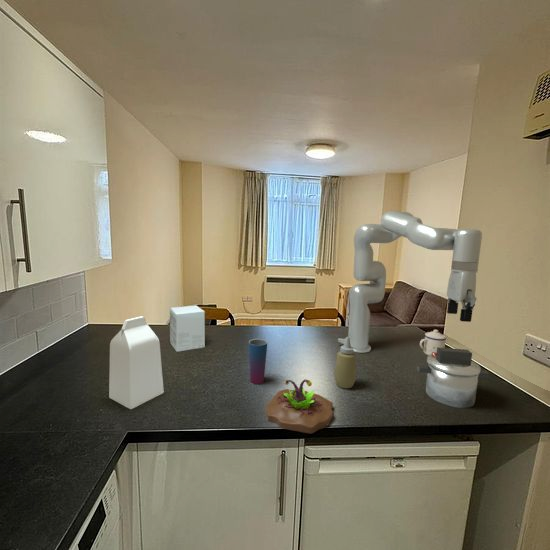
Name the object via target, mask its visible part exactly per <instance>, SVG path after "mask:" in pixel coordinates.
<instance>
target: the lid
mask: <svg viewBox="0 0 550 550" xmlns="http://www.w3.org/2000/svg"><path fill="white" fill-rule="evenodd" d="M472 358H473V352H472V351H470V350H469V349H461V348H452V347H451V348H450V347H445V348H438V347H437V353H435V352H432V354H430V355H427V357H426V363H427V364H429V365H430V366H432V367H433V368H435V369H437V370H439V371H442V372H445V373H448V374H452V375H457V376H467V377H469V376H477V375H479V374H480V370H482V369H481V366H480V364H478V363H476V362H475V361H474V360H472Z"/></svg>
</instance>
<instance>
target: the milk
mask: <svg viewBox="0 0 550 550" xmlns="http://www.w3.org/2000/svg"><path fill="white" fill-rule="evenodd" d="M160 344H161V343H160V340H159V337H158V336H157V335H156V334H155V331H154V330H152V327H150V326H149V324H148V322H147V320H146V317H145V316H142V315H141V316H136V317H133V318H129V319H125V320H124V321H123V325H122V327H121V329H120V330H119V331H118V333H116V334H115V336H113V338H112V339H111V340H110V343H109V374H108V375H109V378H108V379H109V382H108V383H109V384H108V385H109V389H108V392H109V394H108V398H109V399H111V400H113V401H114V402H116V403H118V404H120V405H122V406H123V407H125V408H127V409H129V410H132V409H134V408H137V407H138V406H140V405H143V404H144V403H146V402H148V401H150V400H152V399H155V398H157V397H158V396H160V395H162V394H164V393H165V392H164V390H165V389H164V379H163V369H162V355H161V345H160Z"/></svg>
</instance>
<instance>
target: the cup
mask: <svg viewBox="0 0 550 550" xmlns="http://www.w3.org/2000/svg"><path fill="white" fill-rule="evenodd" d="M267 351H268V340H266V339H263V338H253V339H250V340H248V354H249V355H248V356H249V357H248V358H249V362H248V363H249V382H250V383H251V384H253V385H260V384H262V383H264V381H265V373H266V371H265V370H266V362H267V361H266V360H267Z"/></svg>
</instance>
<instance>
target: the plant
mask: <svg viewBox="0 0 550 550" xmlns="http://www.w3.org/2000/svg"><path fill="white" fill-rule="evenodd" d="M290 383H291V384H292V385H293V387H294V388H293V389H288V388H285V389H281V390H279V391H278V392H277V393H276V394H275V395H274V396H273V397H272V398H271V400H270V401H269V402H268V403H266V405H265V417H266V419H267V422H271V423H274V424H276V425H277V426H278V428H280V429H283V430H289V431H293V432H294V431H295V432H300V433H305V434H311V435H312V434H314V433H316V432H317V431H319V430H323V429H325V428H327V426H328V425H329V424H330V423H331V421H332V420H333V416H334V412H333V408H334V405H333V402H332V401H331V400H329V399H327V398H325V397H324V396H322V395H320V394H317V393H315V390H311V391H307V390H305V388H304V387H303V386H304V384H305V383H306V385H307V386H308V387H311V386H312V384H313V383H312V381H311V380H310V379H307V378H306V379H304V380H302V381H301V382H300V385H299V387H298V385H297V384H296V382H294V381H293V380H291V379H286V380H285V381H284V384H285V386H287V385H289V384H290Z"/></svg>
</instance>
